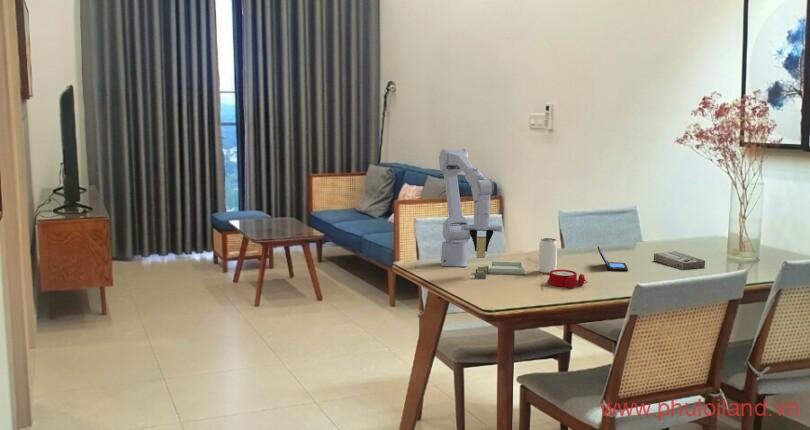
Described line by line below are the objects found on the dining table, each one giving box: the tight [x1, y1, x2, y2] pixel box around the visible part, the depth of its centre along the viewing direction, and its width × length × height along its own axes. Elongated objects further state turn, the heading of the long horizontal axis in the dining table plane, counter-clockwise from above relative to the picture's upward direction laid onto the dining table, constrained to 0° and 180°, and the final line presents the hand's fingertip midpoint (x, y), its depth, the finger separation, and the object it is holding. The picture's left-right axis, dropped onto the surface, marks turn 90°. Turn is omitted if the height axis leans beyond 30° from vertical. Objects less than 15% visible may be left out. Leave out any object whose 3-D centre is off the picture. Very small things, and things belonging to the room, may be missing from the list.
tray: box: [487, 260, 525, 276], centre depth 288 cm, size 13×13×2 cm
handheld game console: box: [597, 245, 629, 273], centre depth 294 cm, size 12×11×7 cm
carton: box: [476, 235, 487, 259], centre depth 278 cm, size 3×5×7 cm, turn 172°
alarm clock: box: [542, 269, 588, 289], centre depth 267 cm, size 10×6×15 cm
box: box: [653, 251, 706, 271], centre depth 301 cm, size 11×17×3 cm, turn 22°
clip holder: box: [473, 266, 488, 280], centre depth 279 cm, size 4×9×2 cm, turn 172°
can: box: [538, 237, 558, 274], centre depth 286 cm, size 6×6×12 cm
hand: (481, 251), depth 278 cm, fingers closed on carton, 3 cm apart
